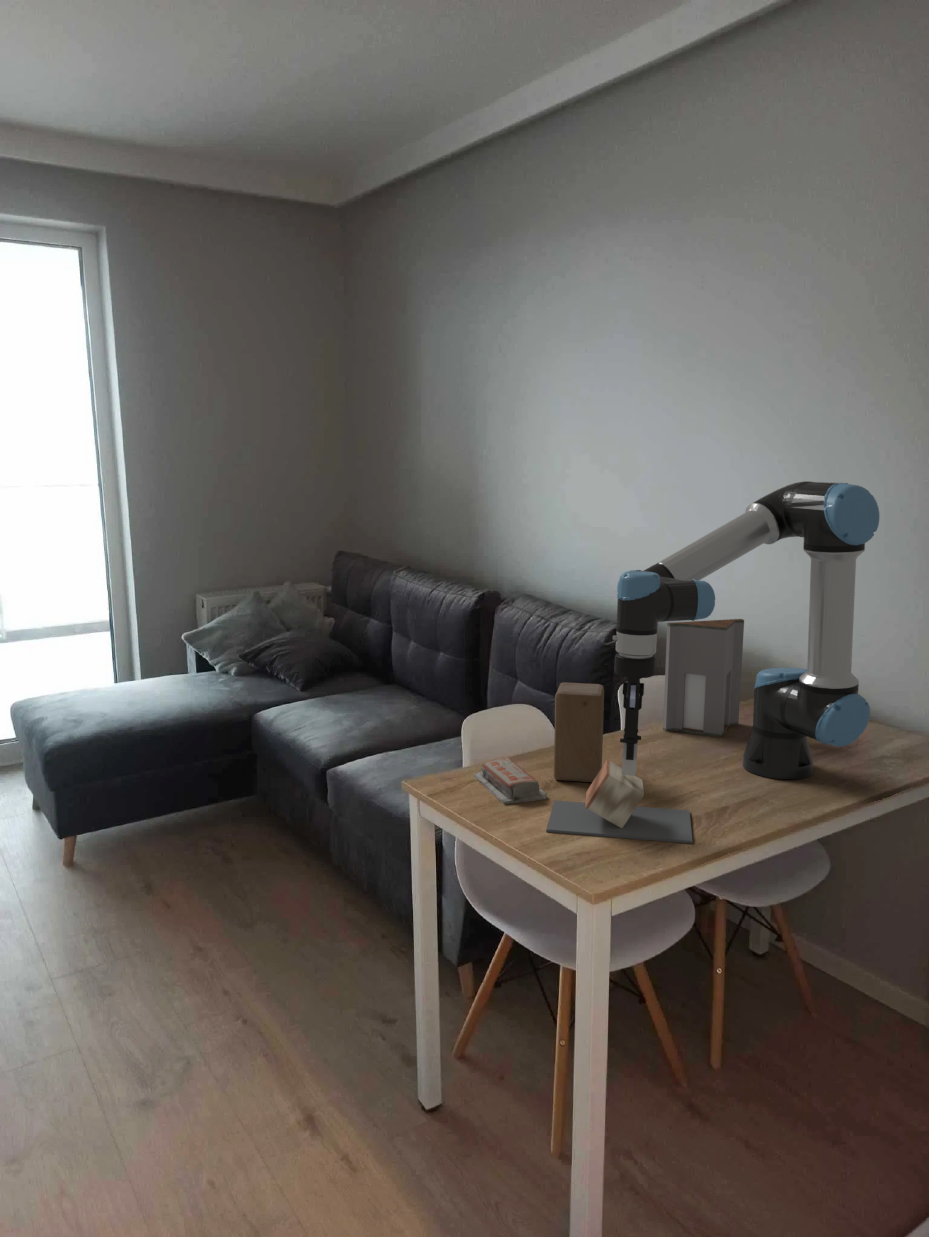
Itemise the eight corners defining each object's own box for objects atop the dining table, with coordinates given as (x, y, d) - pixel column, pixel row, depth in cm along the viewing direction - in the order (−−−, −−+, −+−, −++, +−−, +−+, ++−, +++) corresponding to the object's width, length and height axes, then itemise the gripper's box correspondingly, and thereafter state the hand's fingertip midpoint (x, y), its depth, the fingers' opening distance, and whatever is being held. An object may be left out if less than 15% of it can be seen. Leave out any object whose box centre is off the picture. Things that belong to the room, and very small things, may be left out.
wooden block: (599, 784, 204) (601, 694, 200) (553, 781, 206) (554, 692, 202) (602, 768, 214) (604, 683, 210) (557, 765, 216) (559, 681, 212)
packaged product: (548, 778, 195) (504, 785, 192) (548, 801, 196) (504, 807, 192) (514, 752, 211) (472, 757, 208) (514, 772, 212) (472, 778, 209)
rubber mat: (689, 812, 188) (689, 810, 188) (692, 843, 174) (692, 840, 174) (554, 802, 194) (554, 800, 193) (546, 831, 179) (546, 829, 179)
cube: (642, 780, 185) (606, 759, 186) (643, 794, 178) (606, 773, 178) (621, 812, 187) (586, 792, 187) (622, 828, 179) (585, 807, 180)
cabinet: (735, 723, 248) (740, 618, 243) (755, 734, 239) (762, 625, 234) (662, 729, 243) (667, 622, 237) (681, 741, 234) (686, 630, 228)
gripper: (616, 645, 184) (610, 761, 188) (613, 660, 171) (607, 783, 176) (655, 648, 183) (648, 764, 187) (655, 662, 170) (648, 787, 174)
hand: (628, 773), depth 181 cm, fingers closed
